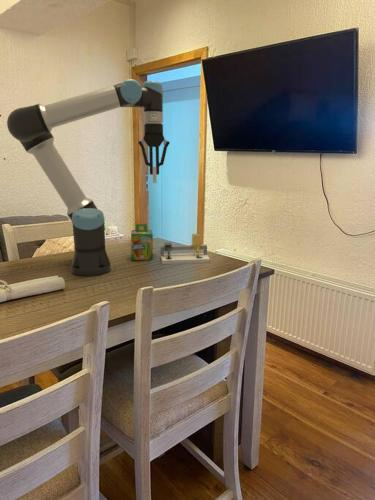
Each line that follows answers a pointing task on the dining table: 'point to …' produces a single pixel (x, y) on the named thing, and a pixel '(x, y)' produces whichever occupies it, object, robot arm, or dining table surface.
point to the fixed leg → (168, 248)
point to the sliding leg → (196, 243)
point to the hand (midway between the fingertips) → (154, 182)
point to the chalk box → (141, 243)
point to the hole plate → (185, 255)
